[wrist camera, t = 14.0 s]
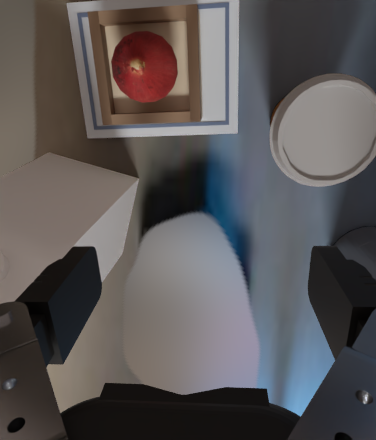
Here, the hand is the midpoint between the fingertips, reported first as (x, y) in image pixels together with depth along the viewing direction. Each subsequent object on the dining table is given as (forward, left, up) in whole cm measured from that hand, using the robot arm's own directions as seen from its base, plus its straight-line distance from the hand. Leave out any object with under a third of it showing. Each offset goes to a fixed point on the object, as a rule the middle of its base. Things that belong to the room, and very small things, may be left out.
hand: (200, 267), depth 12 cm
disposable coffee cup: (-10, -2, -30) cm, 32 cm away
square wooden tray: (+6, -8, -29) cm, 31 cm away
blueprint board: (+6, -8, -30) cm, 32 cm away
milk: (+17, +8, -30) cm, 36 cm away
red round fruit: (+6, -8, -25) cm, 27 cm away
